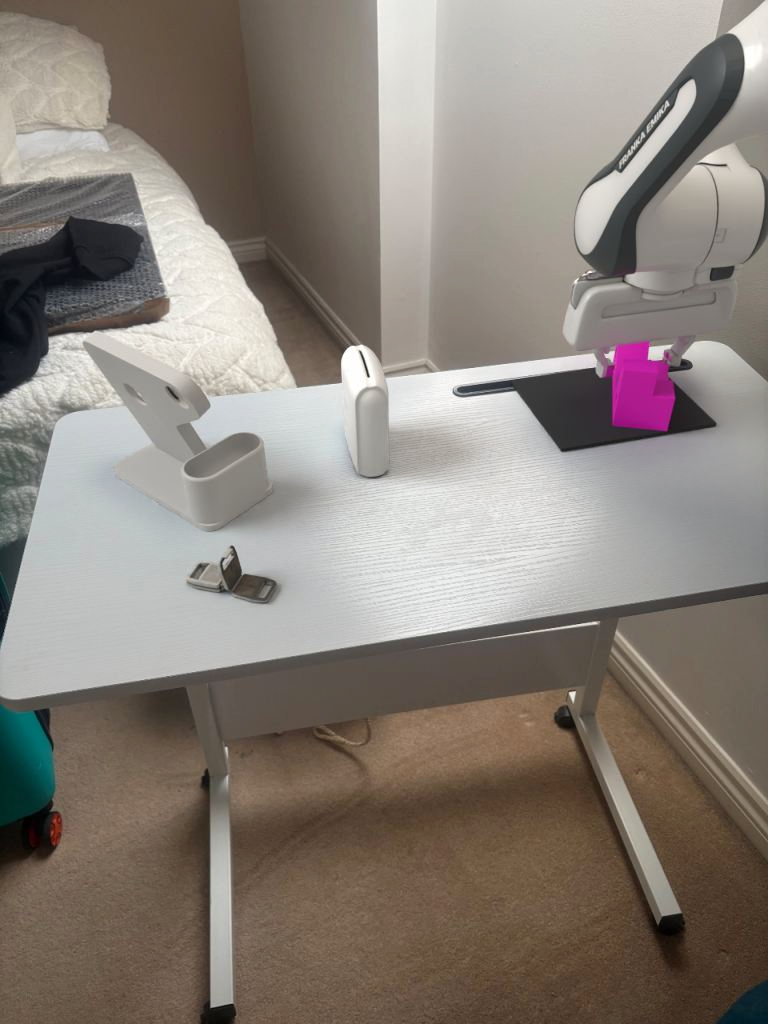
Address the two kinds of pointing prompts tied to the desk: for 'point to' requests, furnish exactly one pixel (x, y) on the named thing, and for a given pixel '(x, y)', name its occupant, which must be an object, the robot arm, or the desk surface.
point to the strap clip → (229, 578)
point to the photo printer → (365, 410)
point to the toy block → (641, 389)
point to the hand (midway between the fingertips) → (637, 370)
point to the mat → (594, 410)
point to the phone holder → (180, 441)
